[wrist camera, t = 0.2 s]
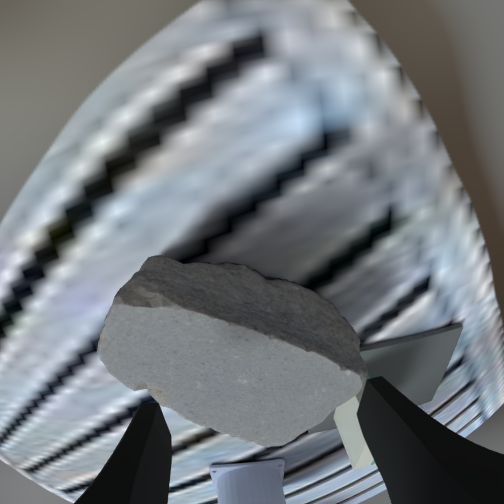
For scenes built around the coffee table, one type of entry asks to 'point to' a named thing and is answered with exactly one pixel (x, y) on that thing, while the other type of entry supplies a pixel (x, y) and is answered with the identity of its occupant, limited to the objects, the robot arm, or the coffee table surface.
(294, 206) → the coffee table surface
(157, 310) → the decorative stone
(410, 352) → the mat
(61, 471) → the coffee table surface
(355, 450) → the tile
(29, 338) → the coffee table surface
